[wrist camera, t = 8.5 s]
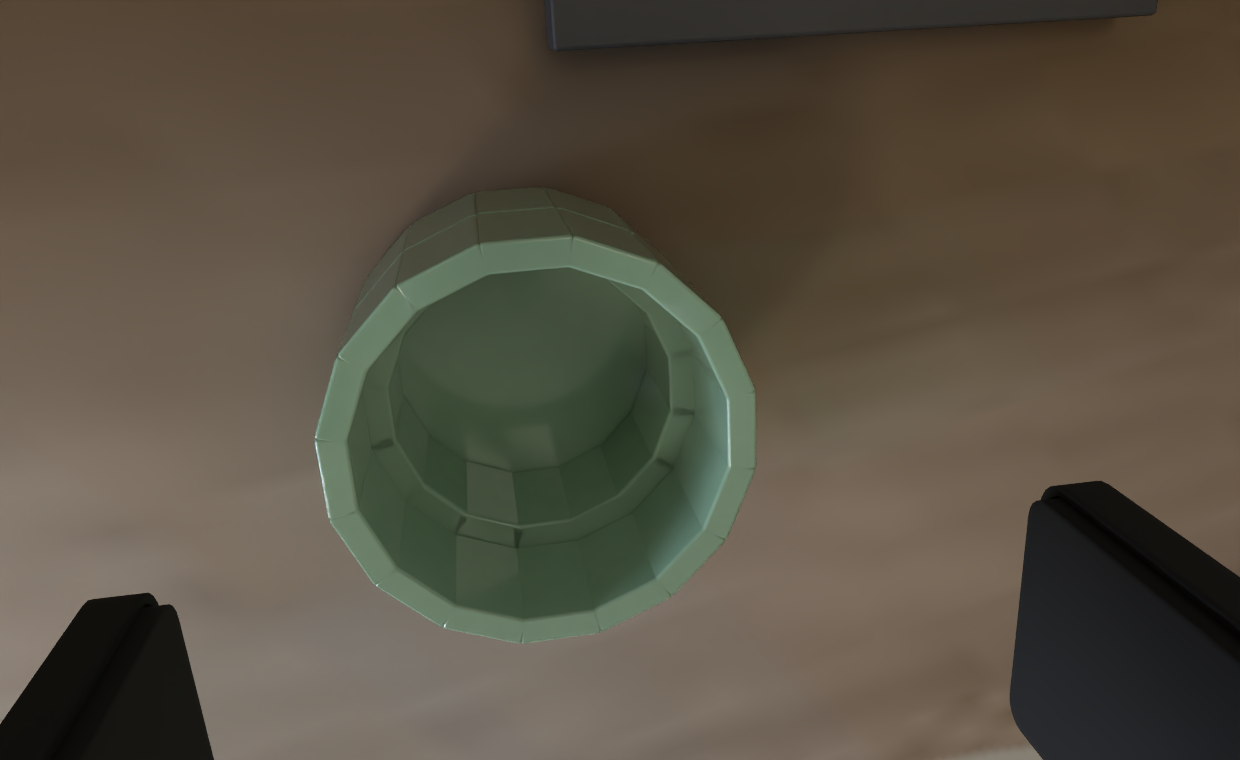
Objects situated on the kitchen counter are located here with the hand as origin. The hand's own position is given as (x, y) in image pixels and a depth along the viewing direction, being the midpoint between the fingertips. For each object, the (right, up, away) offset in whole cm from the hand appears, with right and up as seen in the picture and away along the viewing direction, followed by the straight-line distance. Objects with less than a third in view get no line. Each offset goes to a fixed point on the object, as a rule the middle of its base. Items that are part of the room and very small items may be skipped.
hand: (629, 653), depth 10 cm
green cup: (-2, +4, +10) cm, 11 cm away
